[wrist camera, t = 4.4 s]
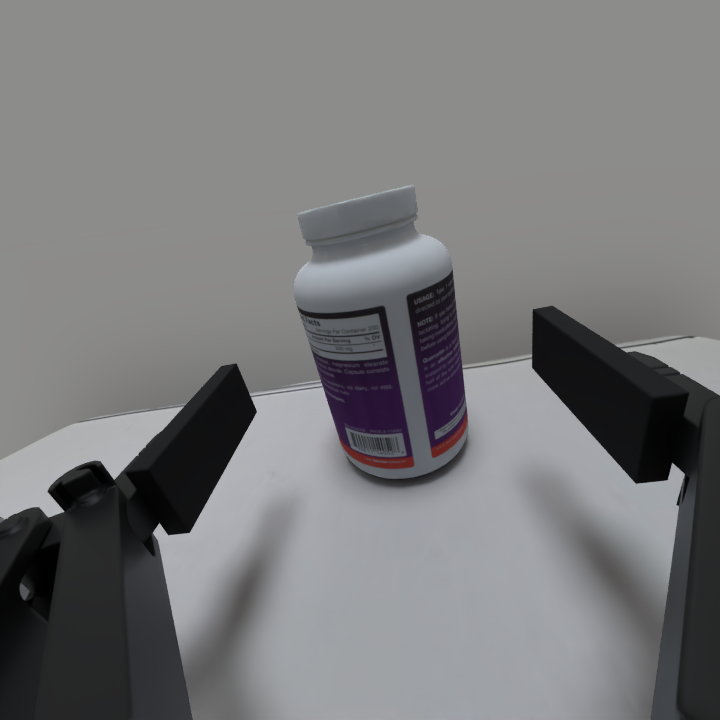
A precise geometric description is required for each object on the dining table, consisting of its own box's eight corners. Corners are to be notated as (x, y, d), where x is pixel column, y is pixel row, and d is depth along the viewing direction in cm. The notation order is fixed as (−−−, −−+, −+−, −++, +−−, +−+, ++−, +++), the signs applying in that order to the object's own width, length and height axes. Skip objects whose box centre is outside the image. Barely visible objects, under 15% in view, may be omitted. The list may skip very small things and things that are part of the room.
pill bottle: (435, 392, 26) (406, 186, 20) (497, 459, 18) (483, 166, 12) (334, 424, 25) (271, 218, 19) (358, 508, 17) (267, 218, 11)
